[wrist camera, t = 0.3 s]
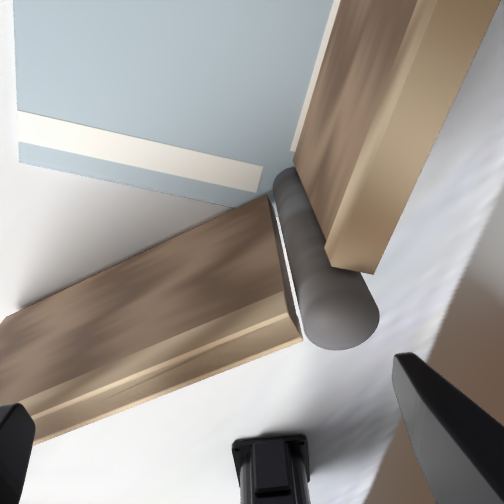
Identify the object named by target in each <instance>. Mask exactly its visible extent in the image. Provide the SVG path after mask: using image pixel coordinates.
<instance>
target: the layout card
mask: <svg viewBox="0 0 504 504" xmlns="http://www.w3.org/2000/svg"><path fill="white" fill-rule="evenodd" d="M340 1H341V0H13V10H14V37H15V63H16V90H17V126H18V142H19V162H20V163H24V164H29V165H34V166H39V167H43V168H48V169H53V170H58V171H62V172H67V173H72V174H77V175H81V176H86V177H91V178H96V179H100V180H105V181H110V182H114V183H119V184H124V185H129V186H133V187H138V188H143V189H148V190H152V191H157V192H162V193H167V194H171V195H176V196H181V197H186V198H190V199H195V200H200V201H205V202H209V203H214V204H219V205H223V206H228V207H233V208H238V207H240V206H242V205H244V204H246V203H248V202H250V201H252V200H255V199H257V198H259V197H261V196H263V195H265V194H267V195H268V197H269V199H270V201H271V203H272V205H273V207H274V211H275V215H276V217H279V216H278V212H277V207H276V203H275V198H274V194H273V182H274V180H275V178H276V176H277V175H278V174H279V173H280V172H281V171H283V170H285V169H287V168H290V167H295V165H294V163H293V157H294V154H295V151H296V148H297V144H298V141H299V138H300V134H301V131H302V128H303V124H304V121H305V118H306V114H307V111H308V108H309V104H310V101H311V98H312V94H313V91H314V88H315V84H316V81H317V78H318V74H319V71H320V68H321V64H322V61H323V58H324V54H325V51H326V48H327V44H328V41H329V37H330V34H331V31H332V27H333V24H334V21H335V17H336V14H337V11H338V7H339V4H340Z"/></svg>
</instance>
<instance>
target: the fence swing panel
mask: <svg viewBox="0 0 504 504" xmlns="http://www.w3.org/2000/svg"><path fill="white" fill-rule="evenodd" d="M301 341H303V337H302V333H301V328H300V323H299V319H298V317H297V315H296V311H295V306H294V301H293V296H292V292H291V287H290V282H289V277H288V273H287V268H286V263H285V258H284V254H283V249H282V244H281V239H280V235H279V230H278V225H277V220H276V215H275V211H274V207H273V205H272V203H271V201H270V199H269V197H268V195H267V194H265V195H263V196H261V197H259V198H257V199H255V200H252V201H250V202H248V203H246V204H244V205H242V206H240V207H238V208H236V209H233V210H231V211H229V212H227V213H225V214H223V215H221V216H219V217H217V218H214V219H212V220H210V221H208V222H206V223H204V224H202V225H200V226H198V227H195V228H193V229H191V230H189V231H187V232H185V233H183V234H181V235H179V236H176V237H174V238H172V239H170V240H168V241H166V242H164V243H162V244H160V245H157V246H155V247H153V248H151V249H149V250H147V251H145V252H143V253H141V254H138V255H136V256H134V257H132V258H130V259H128V260H126V261H124V262H121V263H119V264H117V265H115V266H113V267H111V268H109V269H107V270H105V271H102V272H100V273H98V274H96V275H94V276H92V277H90V278H88V279H86V280H83V281H81V282H79V283H77V284H75V285H73V286H71V287H69V288H67V289H64V290H62V291H60V292H58V293H56V294H54V295H52V296H50V297H48V298H45V299H43V300H41V301H39V302H37V303H35V304H33V305H31V306H29V307H26V308H24V309H22V310H20V311H18V312H16V313H14V314H12V315H10V316H7V317H6V318H5V319H4V320H3V322H2V323H1V324H0V406H1V405H4V404H10V403H21V404H22V405H23V406H24V407H25V409H26V410H27V412H28V413H29V415H30V416H31V418H32V419H33V421H34V422H35V426H36V432H35V437H34V442H33V446H34V445H36V444H39V443H42V442H44V441H47V440H49V439H52V438H54V437H57V436H60V435H62V434H65V433H67V432H70V431H72V430H75V429H78V428H80V427H83V426H85V425H88V424H90V423H93V422H96V421H98V420H101V419H103V418H106V417H108V416H111V415H114V414H116V413H119V412H121V411H124V410H126V409H129V408H132V407H134V406H137V405H139V404H142V403H144V402H147V401H150V400H152V399H155V398H157V397H160V396H162V395H165V394H168V393H170V392H173V391H175V390H178V389H180V388H183V387H186V386H188V385H191V384H193V383H196V382H198V381H201V380H204V379H206V378H209V377H211V376H214V375H216V374H219V373H222V372H224V371H227V370H229V369H232V368H234V367H237V366H240V365H242V364H245V363H247V362H250V361H252V360H255V359H258V358H260V357H263V356H265V355H268V354H270V353H273V352H276V351H278V350H281V349H283V348H286V347H288V346H291V345H294V344H296V343H299V342H301Z"/></svg>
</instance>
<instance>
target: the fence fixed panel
mask: <svg viewBox="0 0 504 504" xmlns="http://www.w3.org/2000/svg"><path fill="white" fill-rule="evenodd" d="M500 1H501V0H341V1H340V4H339V7H338V11H337V14H336V17H335V21H334V24H333V27H332V31H331V34H330V37H329V41H328V44H327V48H326V51H325V54H324V58H323V61H322V64H321V68H320V71H319V74H318V78H317V81H316V84H315V88H314V91H313V94H312V98H311V101H310V104H309V108H308V111H307V114H306V118H305V121H304V124H303V128H302V131H301V134H300V138H299V141H298V144H297V148H296V151H295V154H294V157H293V163H294V165H295V167H290V168H287V169H285V170H283V171H281V172H280V173H279V174H278V175H277V176H276V178H275V180H274V182H273V194H274V198H275V203H276V207H277V212H278V216H279V221H280V225H281V230H282V234H283V238H284V243H285V247H286V252H287V256H288V261H289V265H290V270H291V274H292V278H293V283H294V287H295V292H296V296H297V301H298V305H299V310H300V314H301V318H302V323H303V327H304V331H305V334H306V336H307V337H308V339H309V340H310V341H311V342H312V343H313V344H315V345H316V346H318V347H321V348H324V349H328V350H345V349H349V348H353V347H355V346H357V345H359V344H361V343H363V342H364V341H366V340H367V339H368V338H369V337H370V336H371V335H372V334H373V333H374V331H375V330H376V328H377V326H378V323H379V317H380V316H379V310H378V307H377V305H376V303H375V301H374V299H373V297H372V295H371V293H370V291H369V289H368V287H367V285H366V283H365V281H364V279H363V277H362V275H361V273H360V272H362V273H367V274H372V275H374V272H375V270H376V268H377V266H378V264H379V262H380V259H381V257H382V255H383V253H384V251H385V249H386V246H387V244H388V242H389V240H390V238H391V236H392V234H393V231H394V229H395V227H396V225H397V223H398V221H399V218H400V216H401V214H402V212H403V210H404V208H405V206H406V203H407V201H408V199H409V197H410V195H411V193H412V190H413V188H414V186H415V184H416V182H417V180H418V177H419V175H420V173H421V171H422V169H423V167H424V165H425V162H426V160H427V158H428V156H429V154H430V152H431V149H432V147H433V145H434V143H435V141H436V139H437V137H438V134H439V132H440V130H441V128H442V126H443V124H444V121H445V119H446V117H447V115H448V113H449V111H450V108H451V106H452V104H453V102H454V100H455V98H456V96H457V93H458V91H459V89H460V87H461V85H462V83H463V80H464V78H465V76H466V74H467V72H468V70H469V67H470V65H471V63H472V61H473V59H474V57H475V55H476V52H477V50H478V48H479V46H480V44H481V42H482V39H483V37H484V35H485V33H486V31H487V29H488V27H489V24H490V22H491V20H492V18H493V16H494V14H495V11H496V9H497V7H498V5H499V3H500Z"/></svg>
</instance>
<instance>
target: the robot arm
mask: <svg viewBox="0 0 504 504" xmlns="http://www.w3.org/2000/svg"><path fill="white" fill-rule="evenodd" d="M392 383H393V387H394V390H395V394H396V397H397V400H398V403H399V406H400V410H401V413H402V416H403V419H404V422H405V425H406V429H407V432H408V435H409V438H410V441H411V444H412V447H413V450H414V453H415V455H416V458H417V460H418V463H419V465H420V467H421V469H422V472H423V474H424V476H425V479H426V481H427V483H428V486H429V488H430V490H431V492H432V495H433V497H434V499H435V502H436V504H504V426H503V425H501V424H500V423H499V422H497V421H496V420H495V419H494V418H493V417H491V416H490V415H489V414H488V413H486V412H485V411H484V410H483V409H482V408H480V407H479V406H478V405H477V404H476V403H474V402H473V401H472V400H471V399H469V398H468V397H467V396H466V395H465V394H463V393H462V392H461V391H460V390H458V389H457V388H456V387H455V386H453V385H452V384H451V383H450V382H449V381H447V380H446V379H445V378H444V377H442V376H441V375H440V374H439V373H437V372H436V371H435V370H434V369H433V368H431V367H430V366H429V365H428V364H427V363H425V362H424V361H423V360H422V359H420V358H419V357H418V356H417V355H415V354H414V353H412V352H407V353H399V354H396V355H395V356H394V359H393V371H392ZM35 432H36V426H35V422H34V421H33V419H32V418H31V416H30V415H29V413H28V412H27V410H26V409H25V407H24V406H23V405H22V404H21V403H10V404H4V405H1V406H0V504H19V501H20V497H21V493H22V490H23V486H24V481H25V477H26V472H27V468H28V464H29V459H30V455H31V450H32V446H33V442H34V437H35ZM232 454H233V458H234V463H235V467H236V472H237V477H238V481H239V486H240V495H241V504H311V502H310V496H309V490H308V482H309V481H310V474H309V459H308V443H307V438H306V436H304V435H298V436H289V437H279V438H269V439H259V440H249V441H240V442H234V443H233V444H232Z"/></svg>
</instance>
